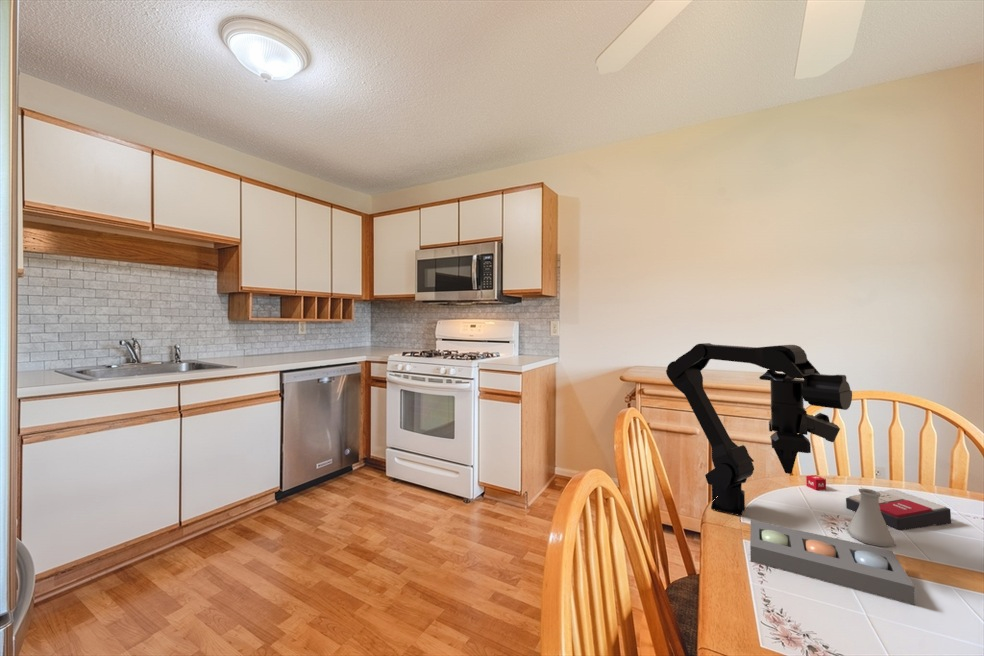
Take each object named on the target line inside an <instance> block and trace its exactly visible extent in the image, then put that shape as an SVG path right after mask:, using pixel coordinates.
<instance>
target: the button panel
mask: <svg viewBox="0 0 984 656" xmlns="http://www.w3.org/2000/svg"><path fill="white" fill-rule="evenodd" d="M763 530H773V531H777V532H780V533H782V534H784V535H786V536H787V538H788V546H784V545H780V544H776V543H772V542H767V541H763V540H762V531H763ZM749 535H750V538H749V539H750V540H749V542H750V549H749V550H750V562H751V563H752V562H753V563H755V564H759V565H764V566H767V567H770V568H773V569H774V568H775V569H779V570H782V571H786V572H789V573H793V574H798V575H800V576H805V577H809V578H812V579H816V580H819V581H823V582H827V583H830V584H834V585H838V586H842V587H845V588H849V589H852V590H856V591H861V592H864V593H867V594H872V595H874V596H875V595H876V596H879V597H882V598H886V599H890V600H894V601H898V602H901V603H904V604H909V605H913V606H916V601H915V600H916V598H915V597H916V596H915V593H916V591H915V589H916V587H915V585H914V584H913V582H912V580H911V578H910V577H909V575H908V574H907V572H906V571H905V568H903V567H904V566H902V564H901V562H900V561H899V559H898V558H897V555H895V552H894V551H893V550H892V549H891V550H890V549H887V548H881V547H877V546H872V545H870V544H868V545H867V544H865V543H863V544H862V543H860V542H859V543H858V542H854V541H850V540H845V539H840V538H836V537H832V536H826V535H821V534H818V533H813V532H809V531H804V530H800V529H794V528H789V527H785V526H781V525H776V524H772V523H767V522H762V521H758V520H753V519H750V534H749ZM807 540H818V541H822V542H825V543H827V544H829V545H831V546H832V547H834V549H835V558H834V557H830V556H826V555H822V554H818V553H813V552H809V551H806V541H807ZM856 551H867V552H871V553H874V554H877V555H879V556H881V557H883V558H885V559H886V560H887V563H888V570H884V569H880V568H876V567H872V566H868V565H863V564H859V563H855V552H856Z"/></svg>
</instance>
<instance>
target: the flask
mask: <svg viewBox="0 0 984 656" xmlns="http://www.w3.org/2000/svg"><path fill="white" fill-rule="evenodd" d="M858 491H859V493H860V494H861V500H860V504H859V507H858V509H857V511H856V512H854V516H853V518H852V519H851V521H850V522H849V524H848V526H847V528H846V531H847V533H848V535H849V536H850V537H852V538H854V539H856V540H858V541H860V542H862V543H863V544H866V545H867V544H868V545H871V546H872V545H874V546H876V547H877V546H879V547H882V546H883V548H884V547H886V546H887V547H896V546H897V545H896V542H895V540H894V538H893V535H892V534H891V531H890V530H889V528H888V527H889V526H887V525H886V523H885V521H884V518H883V516H882V514H881V510H880V506H879V497H880V496H881V495H880V493H879V492H877V491H878V490H877V491H876V490H874V489H869V488H858Z"/></svg>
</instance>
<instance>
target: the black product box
mask: <svg viewBox="0 0 984 656" xmlns="http://www.w3.org/2000/svg"><path fill="white" fill-rule="evenodd" d="M877 492H879V493H880V495H881V496H880V497H879V506H880V510H881V514H882V516H883V518H884V521H885V523H886V525H888V526H887V527H889V526H890V527H889V528H891V529H895V530H896V531H907V530H913V529H921V528H926V527H930V526H931V527H932V526H944V525H951V524H952V515H951V513H952V512H951V508H950V507H949V508H948V507H947V506H945V505H943V504H940V503H936V502H934V501H930V500H928V499H924V498H921V497H919V496H915V495H913V494H909V493H906V492H904V491H901V490H899V489H895V488H894V489H889V490H877ZM860 500H861V493H860V494H855V495H849V496H848V497H846V498H845V503H846V504H845V505H846V509H847V510H848V511H849V510H850V511H851V510H852V512H854V511H855V512H854V513H856V511H857V509H858V507H859V504H860Z"/></svg>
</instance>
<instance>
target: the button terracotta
mask: <svg viewBox="0 0 984 656" xmlns="http://www.w3.org/2000/svg"><path fill="white" fill-rule="evenodd" d="M806 551H809V552H813V553H818V554H822V555H826V556H830V557H834V558H835V549H834V547H832V546H831V545H829V544H827V543H825V542H822V541H818V540H807V541H806Z"/></svg>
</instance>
